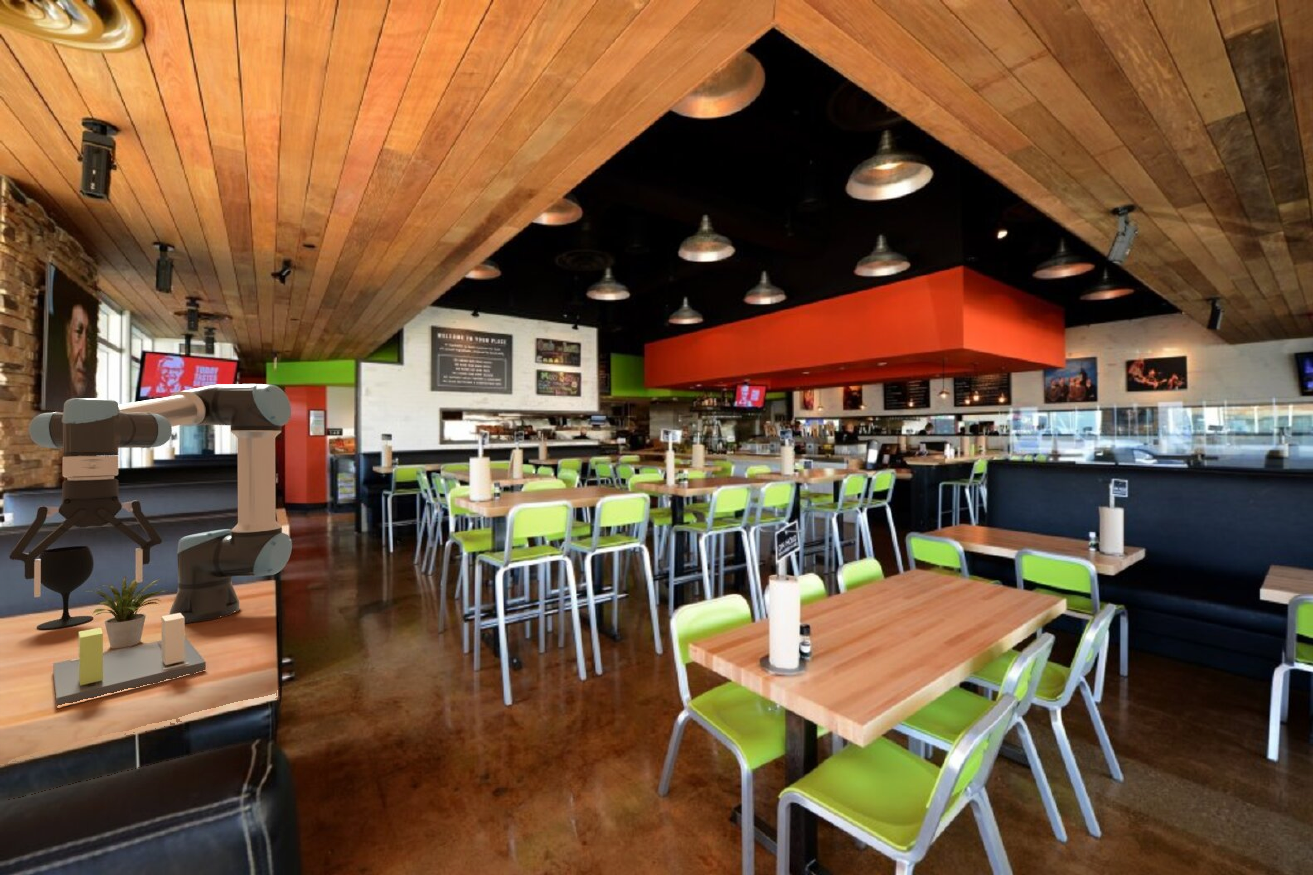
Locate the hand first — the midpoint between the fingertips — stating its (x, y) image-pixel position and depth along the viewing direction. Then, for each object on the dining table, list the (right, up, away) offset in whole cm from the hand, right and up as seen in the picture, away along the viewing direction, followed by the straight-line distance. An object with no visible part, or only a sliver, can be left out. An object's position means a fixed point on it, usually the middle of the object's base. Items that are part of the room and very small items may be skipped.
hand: (90, 588), depth 105 cm
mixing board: (-1, -20, +9) cm, 22 cm away
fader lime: (0, -18, 0) cm, 18 cm away
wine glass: (-49, -21, +41) cm, 67 cm away
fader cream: (+8, -18, +9) cm, 21 cm away
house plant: (-18, -21, +24) cm, 36 cm away
